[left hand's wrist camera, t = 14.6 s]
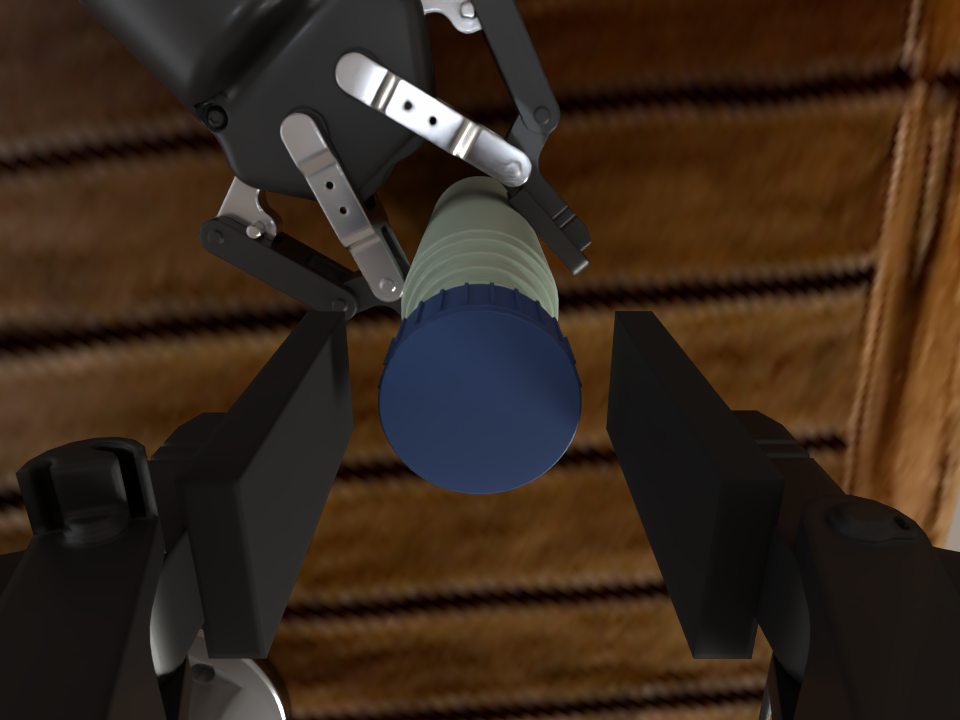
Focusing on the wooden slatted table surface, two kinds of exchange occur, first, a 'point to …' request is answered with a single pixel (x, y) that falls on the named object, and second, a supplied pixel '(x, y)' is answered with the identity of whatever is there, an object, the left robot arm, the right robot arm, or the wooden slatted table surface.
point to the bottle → (478, 247)
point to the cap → (479, 390)
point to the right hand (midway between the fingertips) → (528, 307)
